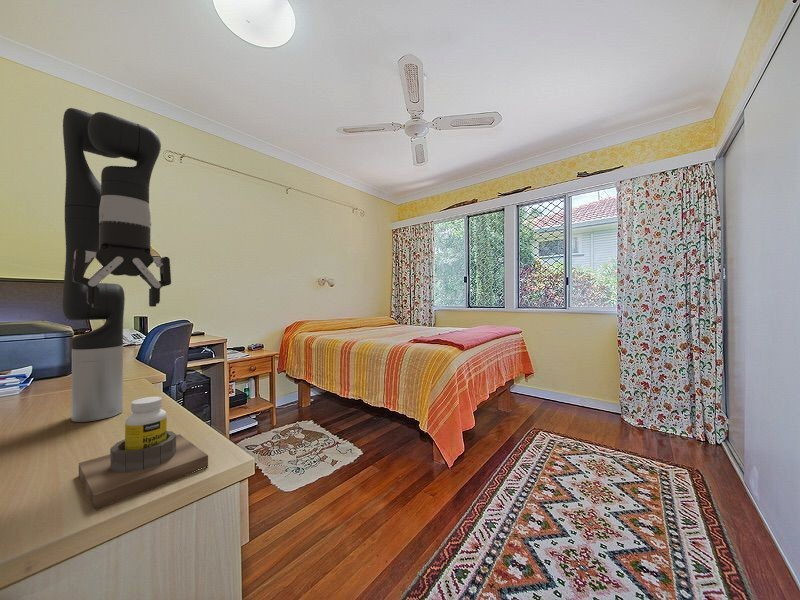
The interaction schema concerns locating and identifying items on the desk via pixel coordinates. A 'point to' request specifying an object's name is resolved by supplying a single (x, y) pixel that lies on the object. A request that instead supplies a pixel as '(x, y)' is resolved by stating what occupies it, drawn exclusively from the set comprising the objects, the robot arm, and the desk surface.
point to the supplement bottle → (145, 424)
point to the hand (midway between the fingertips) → (125, 306)
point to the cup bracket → (138, 469)
